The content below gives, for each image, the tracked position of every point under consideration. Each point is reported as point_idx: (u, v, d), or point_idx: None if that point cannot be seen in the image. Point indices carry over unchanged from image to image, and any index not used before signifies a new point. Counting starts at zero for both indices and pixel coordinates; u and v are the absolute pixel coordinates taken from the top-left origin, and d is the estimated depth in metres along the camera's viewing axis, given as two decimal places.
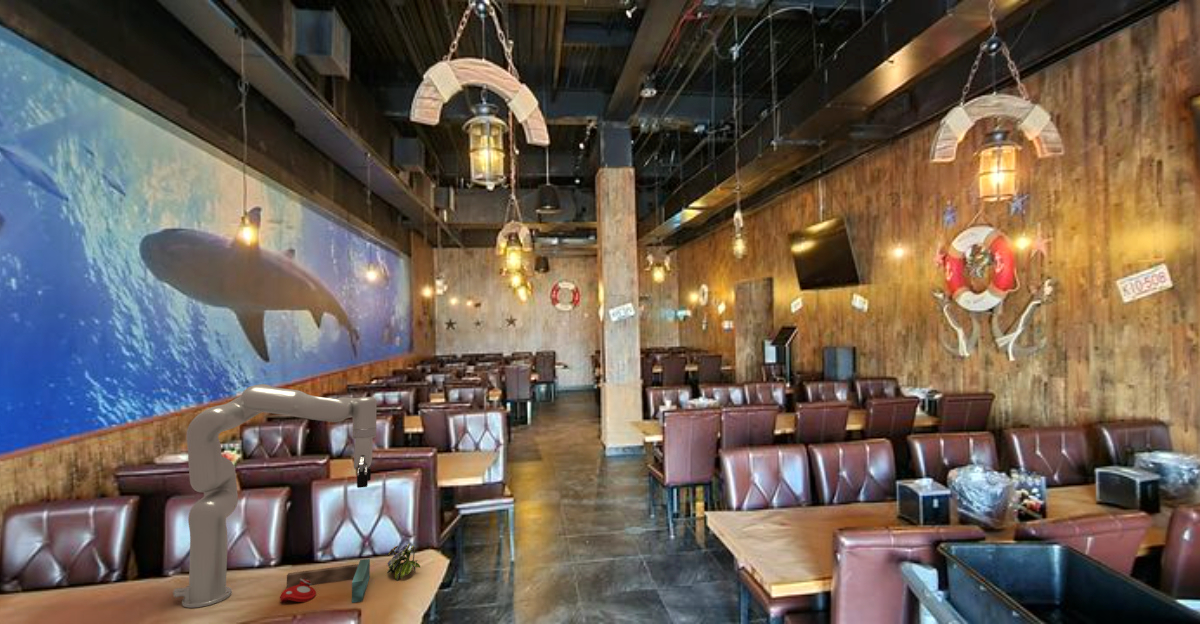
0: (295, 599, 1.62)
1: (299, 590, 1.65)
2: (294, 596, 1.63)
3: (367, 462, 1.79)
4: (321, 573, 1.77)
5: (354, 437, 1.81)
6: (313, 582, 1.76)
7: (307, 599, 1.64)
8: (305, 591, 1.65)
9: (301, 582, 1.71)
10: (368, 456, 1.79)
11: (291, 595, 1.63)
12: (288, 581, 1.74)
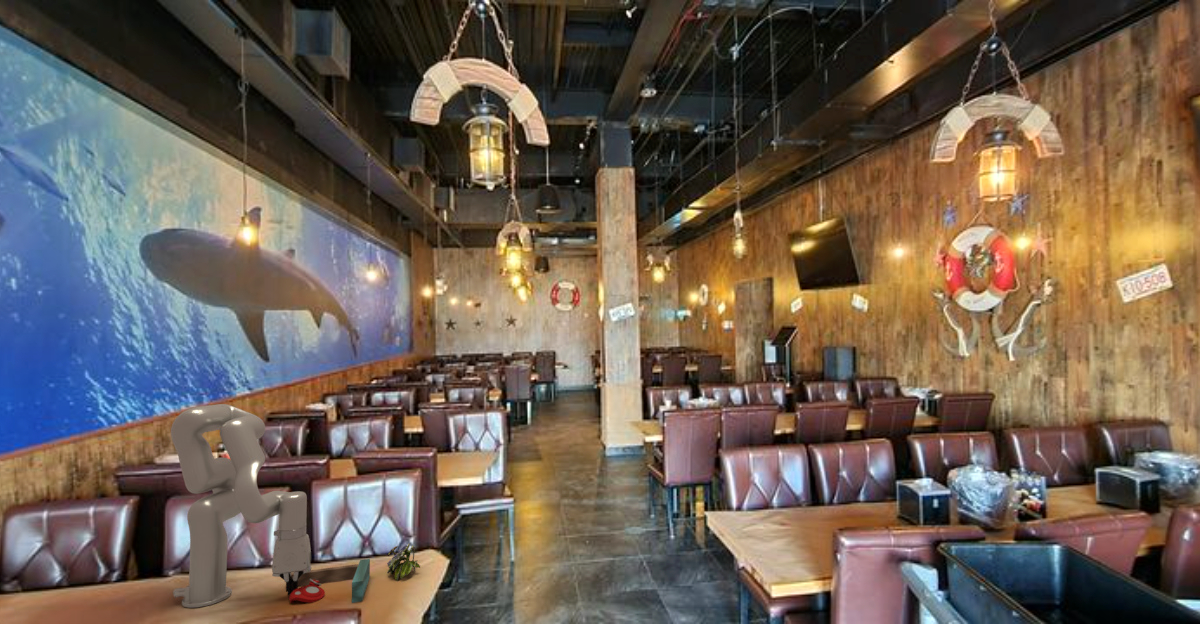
0: (304, 600, 1.62)
1: (308, 590, 1.65)
2: (303, 597, 1.63)
3: None
4: (321, 573, 1.77)
5: (298, 537, 1.66)
6: None
7: (316, 600, 1.64)
8: (314, 592, 1.65)
9: (310, 582, 1.71)
10: None
11: (300, 595, 1.63)
12: None
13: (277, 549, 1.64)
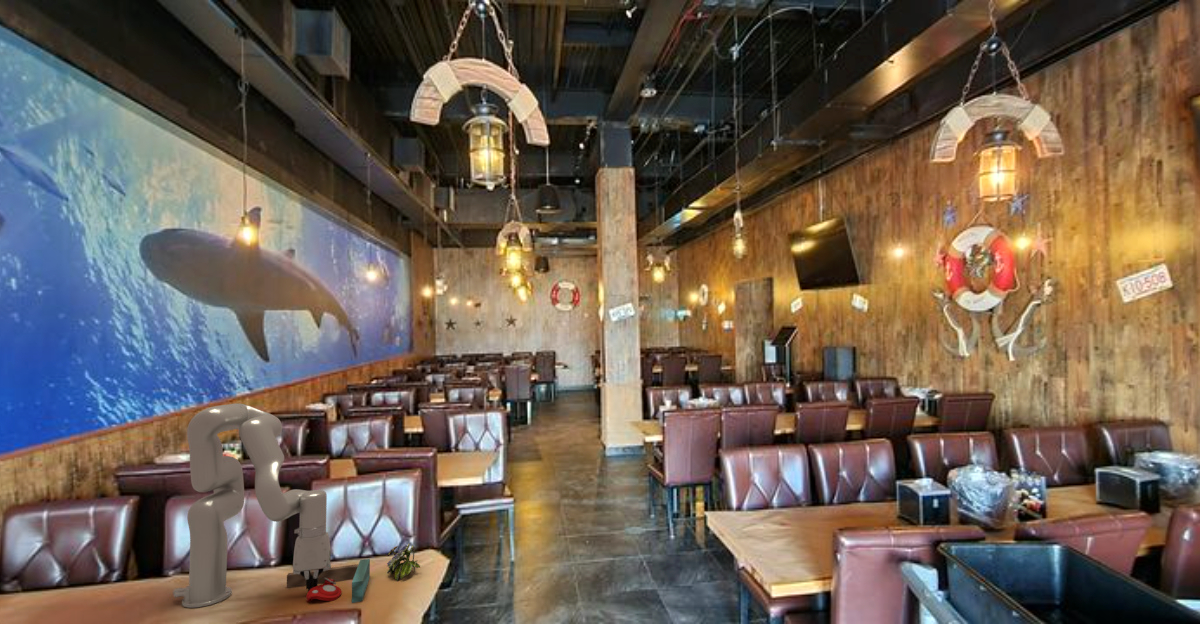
0: (322, 598, 1.62)
1: (325, 589, 1.65)
2: (321, 595, 1.63)
3: None
4: (321, 573, 1.77)
5: (319, 535, 1.68)
6: None
7: (333, 598, 1.64)
8: (331, 590, 1.66)
9: (326, 581, 1.71)
10: None
11: (318, 594, 1.63)
12: (288, 581, 1.74)
13: (298, 547, 1.66)
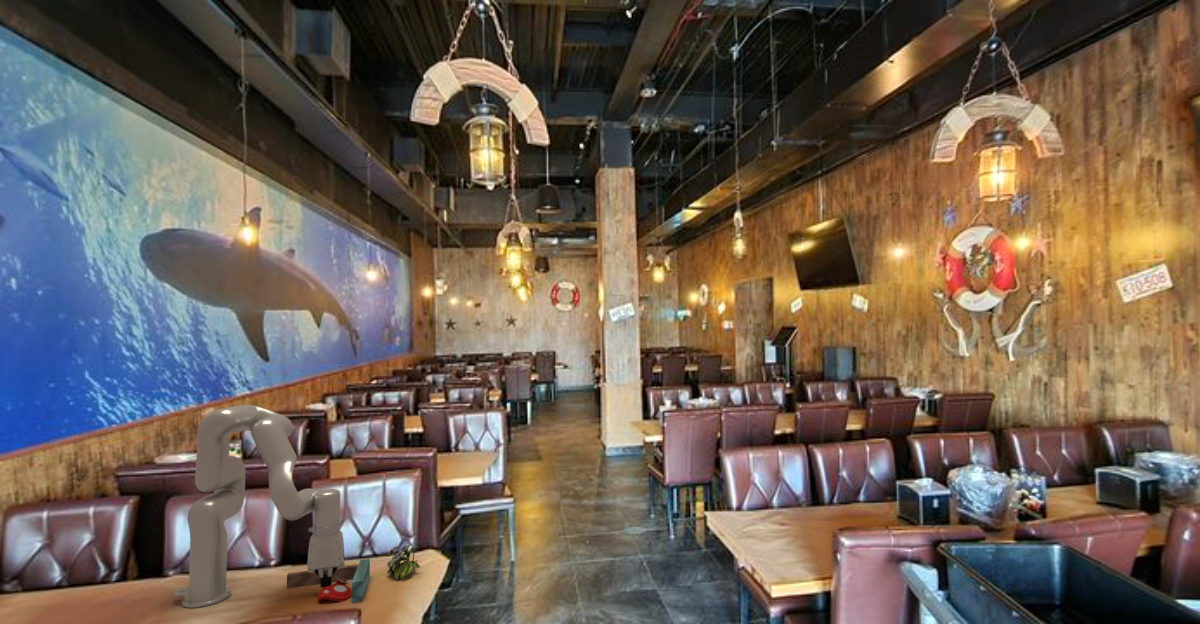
0: (332, 598, 1.62)
1: (336, 589, 1.65)
2: (331, 595, 1.63)
3: None
4: None
5: (333, 534, 1.69)
6: (313, 582, 1.76)
7: (344, 598, 1.64)
8: (342, 590, 1.65)
9: (337, 581, 1.71)
10: None
11: (328, 594, 1.63)
12: (288, 581, 1.74)
13: (312, 545, 1.67)
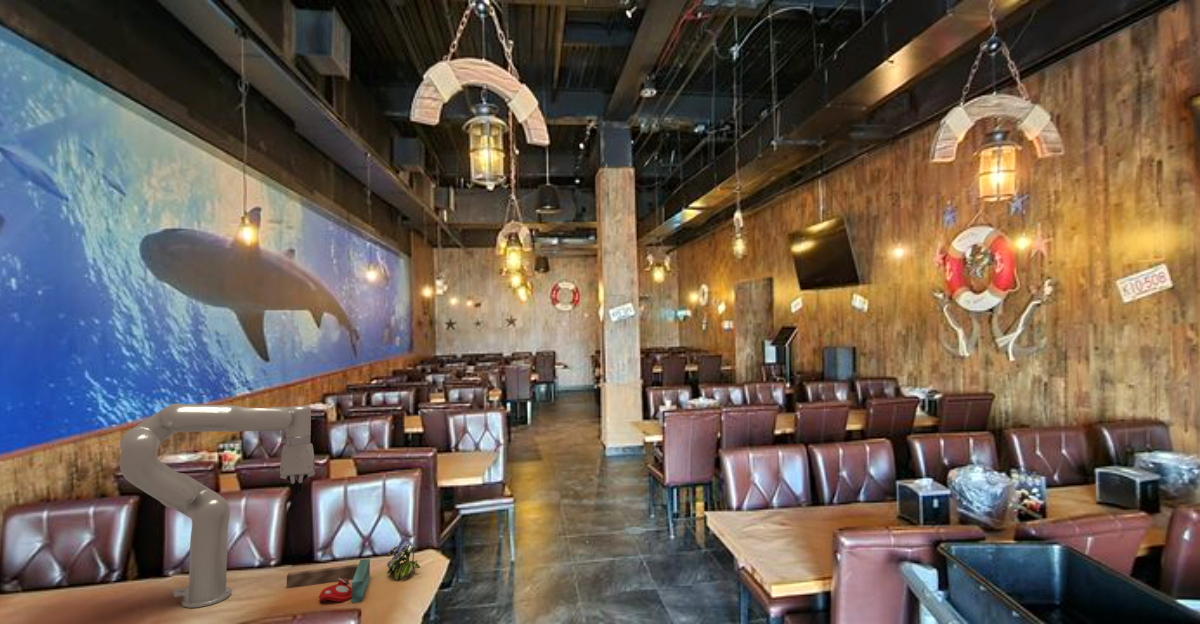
0: (334, 599, 1.62)
1: (338, 590, 1.65)
2: (333, 596, 1.62)
3: None
4: (321, 573, 1.77)
5: (303, 444, 1.86)
6: (313, 582, 1.76)
7: (346, 599, 1.63)
8: (344, 591, 1.65)
9: (339, 581, 1.70)
10: None
11: (330, 595, 1.62)
12: (288, 581, 1.74)
13: (284, 453, 1.85)
